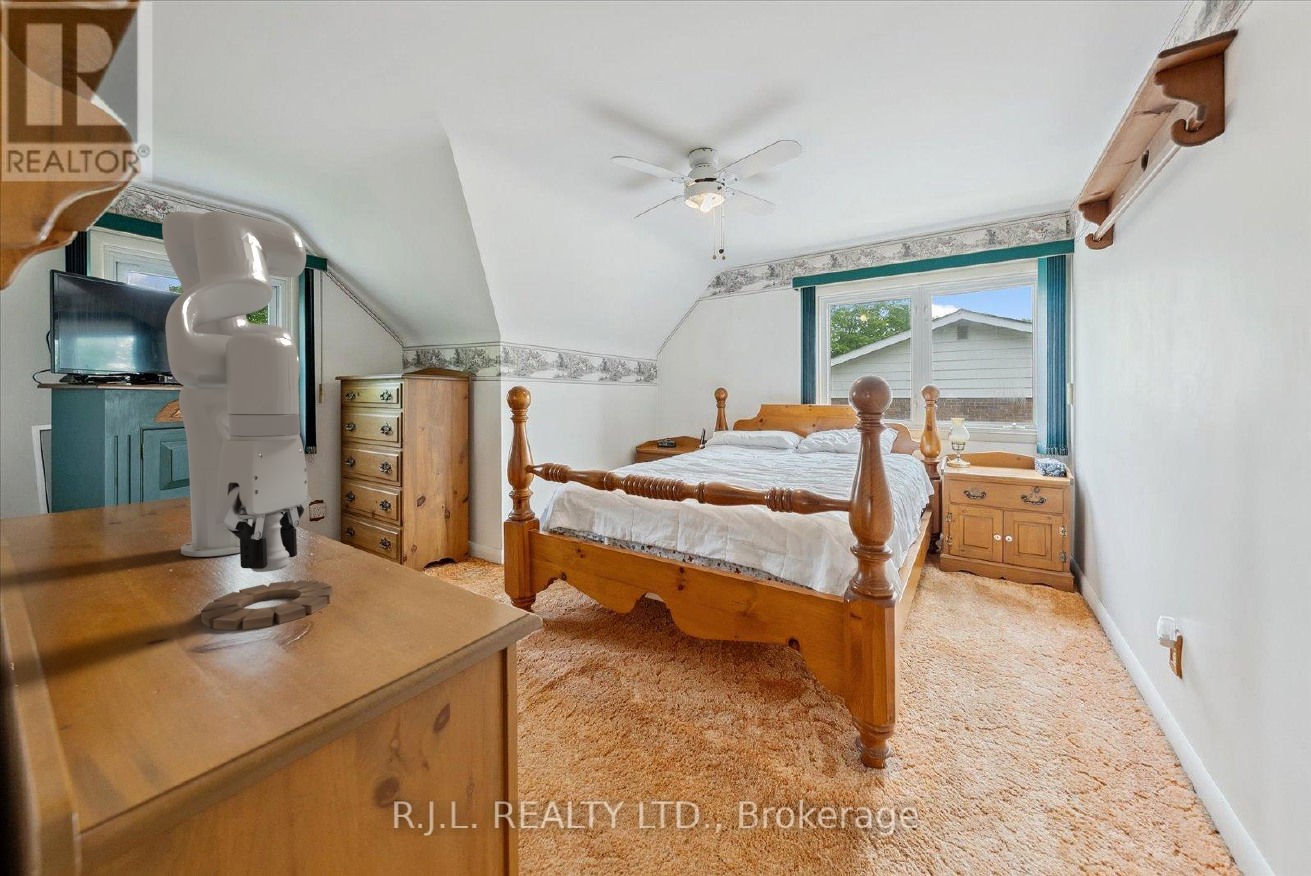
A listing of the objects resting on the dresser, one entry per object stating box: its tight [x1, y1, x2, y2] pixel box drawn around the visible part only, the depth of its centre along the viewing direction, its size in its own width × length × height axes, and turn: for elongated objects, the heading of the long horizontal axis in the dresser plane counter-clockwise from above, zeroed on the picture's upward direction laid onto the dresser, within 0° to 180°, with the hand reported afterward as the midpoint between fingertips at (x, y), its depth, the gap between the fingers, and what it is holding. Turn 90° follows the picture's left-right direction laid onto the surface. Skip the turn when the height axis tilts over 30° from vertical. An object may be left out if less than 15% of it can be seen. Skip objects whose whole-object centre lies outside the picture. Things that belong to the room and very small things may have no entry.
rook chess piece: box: [251, 511, 291, 573], centre depth 69 cm, size 4×4×8 cm
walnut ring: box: [200, 579, 334, 631], centre depth 70 cm, size 14×14×1 cm
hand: (269, 560), depth 69 cm, fingers closed on rook chess piece, 4 cm apart
